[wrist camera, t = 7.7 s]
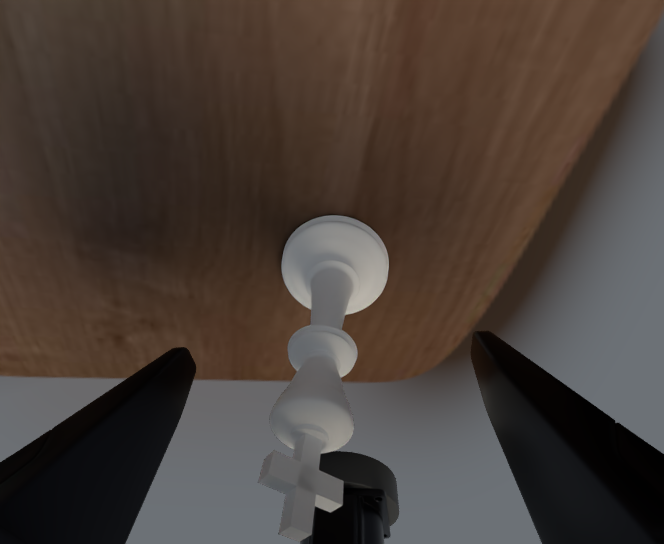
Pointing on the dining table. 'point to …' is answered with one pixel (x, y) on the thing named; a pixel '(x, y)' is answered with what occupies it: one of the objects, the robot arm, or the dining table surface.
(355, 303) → the chess piece
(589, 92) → the dining table surface
